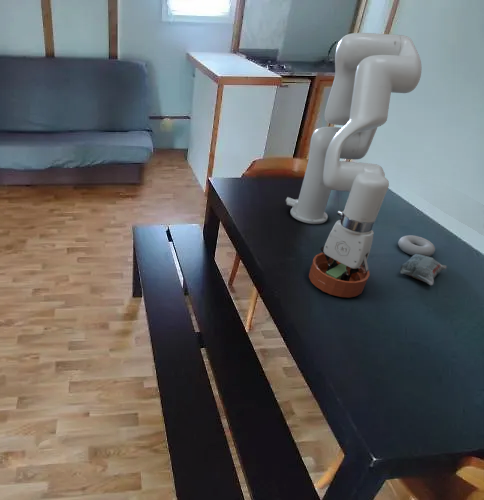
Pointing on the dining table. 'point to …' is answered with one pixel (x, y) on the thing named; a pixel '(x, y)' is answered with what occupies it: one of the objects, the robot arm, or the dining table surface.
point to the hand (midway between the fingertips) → (336, 279)
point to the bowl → (336, 279)
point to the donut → (416, 245)
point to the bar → (337, 271)
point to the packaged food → (422, 268)
